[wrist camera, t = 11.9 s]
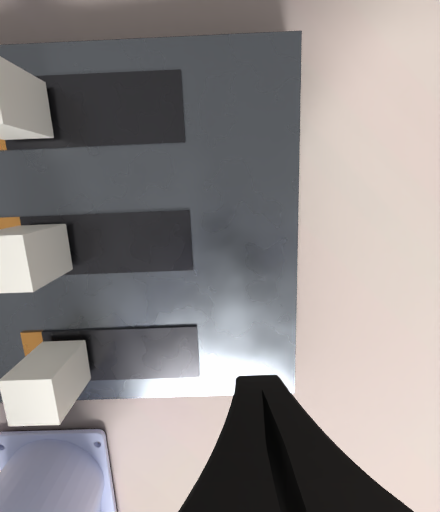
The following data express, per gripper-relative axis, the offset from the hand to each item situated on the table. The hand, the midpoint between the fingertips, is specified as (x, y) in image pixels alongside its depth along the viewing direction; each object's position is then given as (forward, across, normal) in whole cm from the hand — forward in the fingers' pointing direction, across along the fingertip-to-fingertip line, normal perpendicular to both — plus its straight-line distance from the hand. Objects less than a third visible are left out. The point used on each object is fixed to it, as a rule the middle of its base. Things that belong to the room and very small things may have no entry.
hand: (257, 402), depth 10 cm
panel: (+10, +6, -4) cm, 13 cm away
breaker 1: (+7, +10, -11) cm, 16 cm away
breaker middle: (+7, +10, -4) cm, 13 cm away
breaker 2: (+7, +10, +2) cm, 12 cm away
